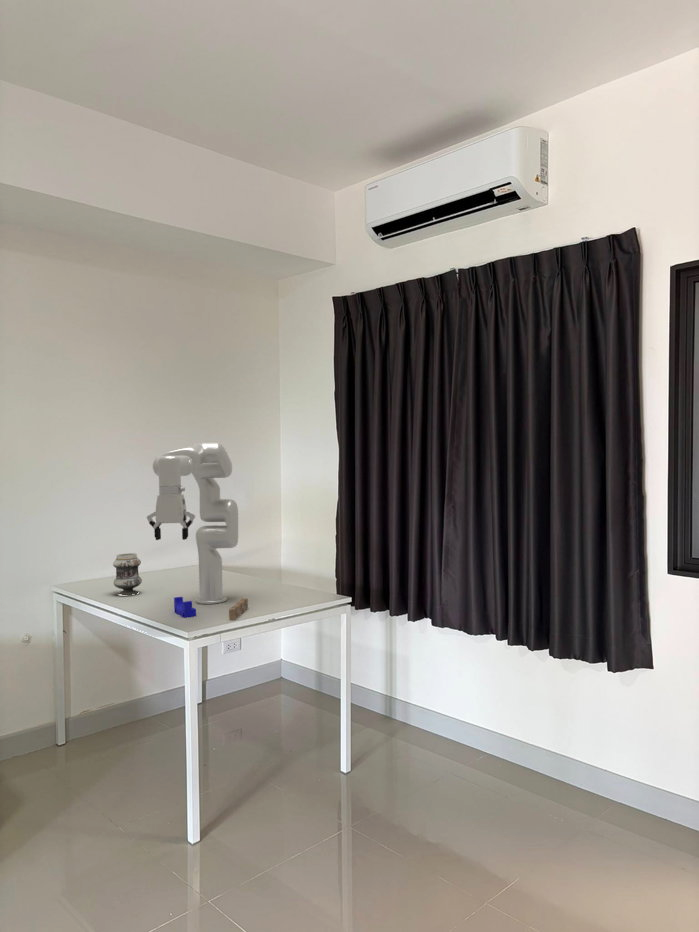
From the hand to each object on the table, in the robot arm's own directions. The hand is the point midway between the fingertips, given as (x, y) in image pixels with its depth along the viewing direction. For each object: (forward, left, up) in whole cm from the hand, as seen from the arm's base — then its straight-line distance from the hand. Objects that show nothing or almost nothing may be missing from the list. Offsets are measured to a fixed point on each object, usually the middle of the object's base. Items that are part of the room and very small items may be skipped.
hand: (171, 539), depth 246 cm
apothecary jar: (-61, -43, -31) cm, 81 cm away
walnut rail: (-21, +18, -31) cm, 42 cm away
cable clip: (-21, -3, -32) cm, 38 cm away
